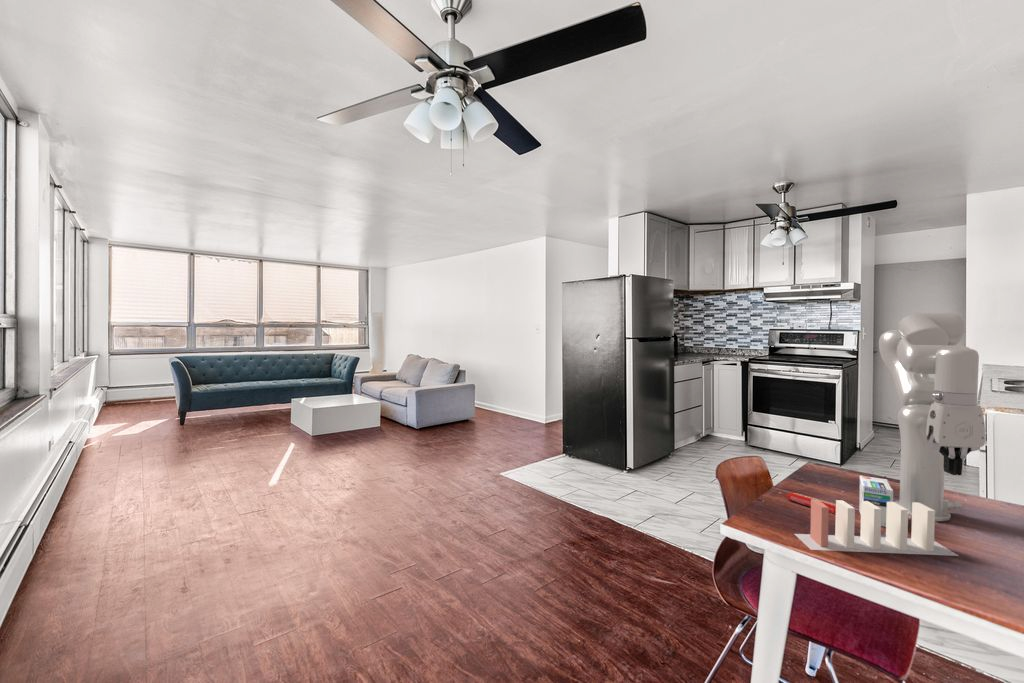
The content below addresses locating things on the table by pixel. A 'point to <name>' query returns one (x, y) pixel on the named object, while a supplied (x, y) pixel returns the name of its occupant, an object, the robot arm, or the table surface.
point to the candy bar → (809, 501)
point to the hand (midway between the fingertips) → (952, 473)
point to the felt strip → (863, 547)
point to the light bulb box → (876, 494)
